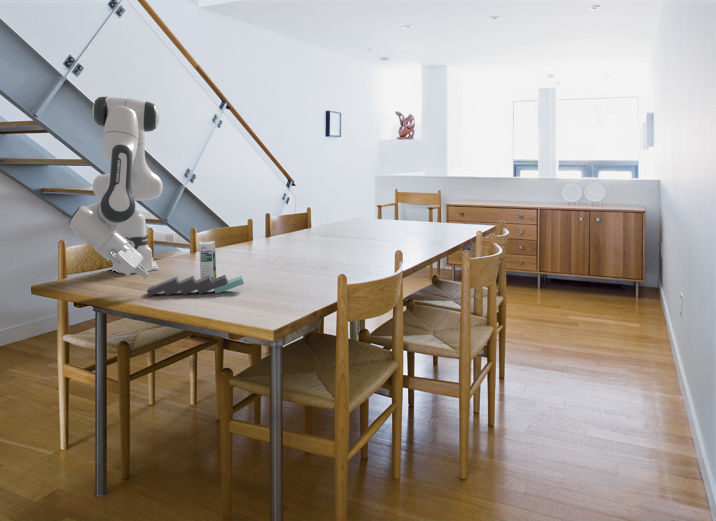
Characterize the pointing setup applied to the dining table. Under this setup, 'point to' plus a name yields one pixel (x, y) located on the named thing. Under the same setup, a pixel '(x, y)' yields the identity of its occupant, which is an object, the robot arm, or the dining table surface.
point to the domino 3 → (197, 285)
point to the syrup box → (207, 259)
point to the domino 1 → (163, 286)
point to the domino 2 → (181, 285)
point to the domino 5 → (230, 284)
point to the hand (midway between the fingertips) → (147, 276)
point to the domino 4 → (214, 284)
